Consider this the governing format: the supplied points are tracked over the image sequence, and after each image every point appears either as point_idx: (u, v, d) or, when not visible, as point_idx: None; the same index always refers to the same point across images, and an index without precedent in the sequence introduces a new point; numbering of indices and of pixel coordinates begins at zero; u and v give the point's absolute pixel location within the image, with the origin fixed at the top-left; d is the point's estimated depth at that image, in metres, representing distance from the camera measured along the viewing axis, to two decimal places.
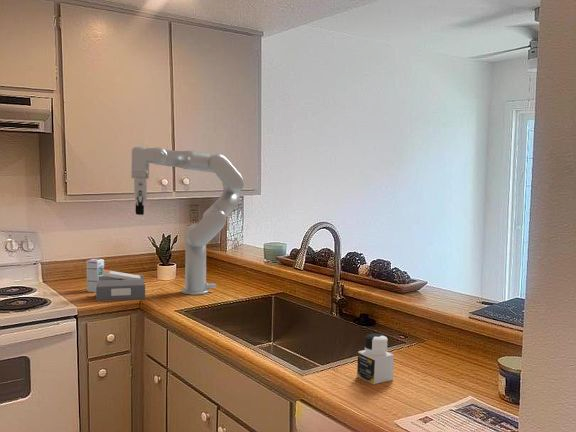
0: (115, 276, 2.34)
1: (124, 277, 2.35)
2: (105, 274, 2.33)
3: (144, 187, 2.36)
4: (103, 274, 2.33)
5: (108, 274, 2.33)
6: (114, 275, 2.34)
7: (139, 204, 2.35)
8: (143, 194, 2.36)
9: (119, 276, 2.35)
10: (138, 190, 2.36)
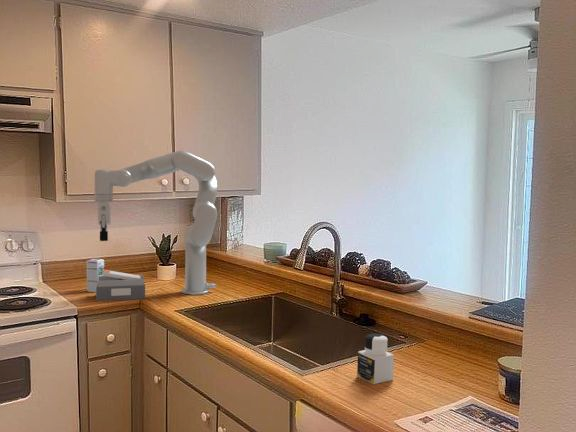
0: (115, 276, 2.34)
1: (124, 277, 2.35)
2: (105, 274, 2.33)
3: (107, 211, 2.30)
4: (103, 274, 2.33)
5: (108, 274, 2.33)
6: (114, 275, 2.34)
7: (102, 230, 2.33)
8: (106, 218, 2.30)
9: (119, 276, 2.35)
10: (101, 217, 2.30)
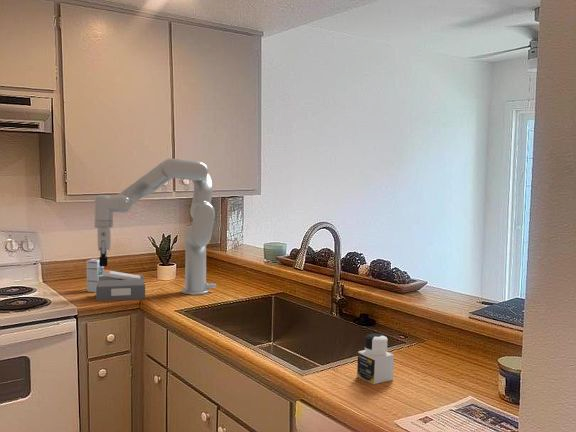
0: (115, 276, 2.34)
1: (124, 277, 2.35)
2: (105, 274, 2.33)
3: (107, 237, 2.31)
4: (103, 274, 2.33)
5: (108, 274, 2.33)
6: (114, 275, 2.34)
7: (102, 256, 2.34)
8: (106, 244, 2.31)
9: (119, 276, 2.35)
10: (101, 243, 2.30)
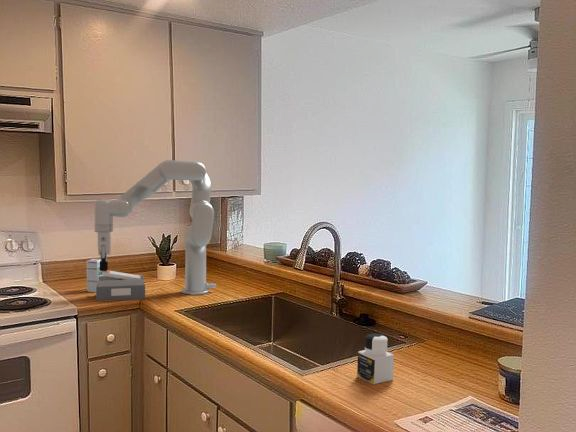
0: (115, 276, 2.34)
1: (124, 277, 2.35)
2: (105, 274, 2.33)
3: (107, 241, 2.31)
4: (103, 274, 2.33)
5: (108, 274, 2.33)
6: (114, 275, 2.34)
7: (102, 260, 2.34)
8: (106, 249, 2.31)
9: (119, 276, 2.35)
10: (101, 247, 2.31)
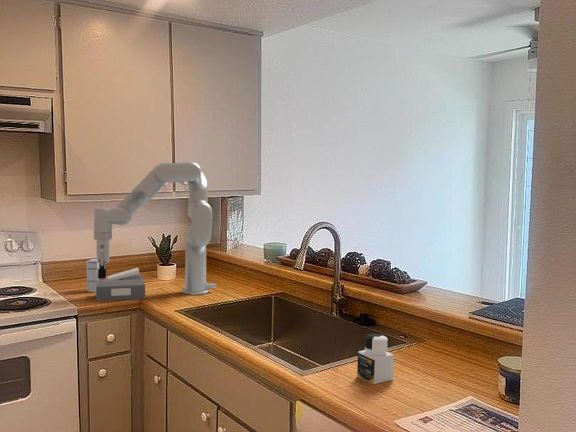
0: (114, 279, 2.34)
1: (123, 276, 2.35)
2: None
3: (106, 249, 2.31)
4: None
5: (107, 280, 2.33)
6: (113, 278, 2.34)
7: (101, 268, 2.34)
8: (105, 256, 2.31)
9: (118, 277, 2.35)
10: (100, 255, 2.31)
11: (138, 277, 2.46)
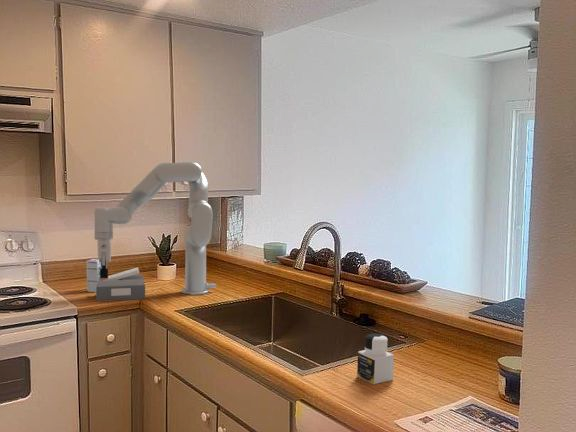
0: (115, 279, 2.34)
1: (123, 276, 2.35)
2: None
3: (107, 249, 2.31)
4: None
5: (107, 280, 2.33)
6: (113, 278, 2.34)
7: (103, 268, 2.34)
8: (106, 256, 2.31)
9: (118, 277, 2.35)
10: (101, 255, 2.31)
11: (138, 277, 2.46)
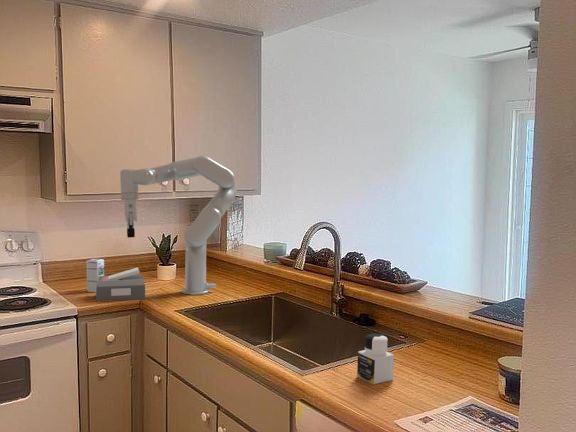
0: (115, 279, 2.34)
1: (123, 276, 2.35)
2: None
3: (134, 208, 2.41)
4: None
5: (107, 280, 2.33)
6: (113, 278, 2.34)
7: (130, 227, 2.44)
8: (133, 215, 2.41)
9: (118, 277, 2.35)
10: (128, 214, 2.41)
11: (138, 277, 2.46)
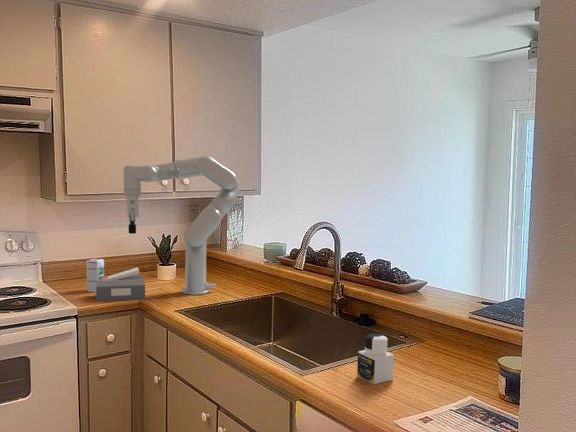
0: (115, 279, 2.34)
1: (123, 276, 2.35)
2: None
3: (136, 205, 2.42)
4: None
5: (107, 280, 2.33)
6: (113, 278, 2.34)
7: (131, 223, 2.45)
8: (135, 211, 2.42)
9: (118, 277, 2.35)
10: (130, 210, 2.42)
11: (138, 277, 2.46)
